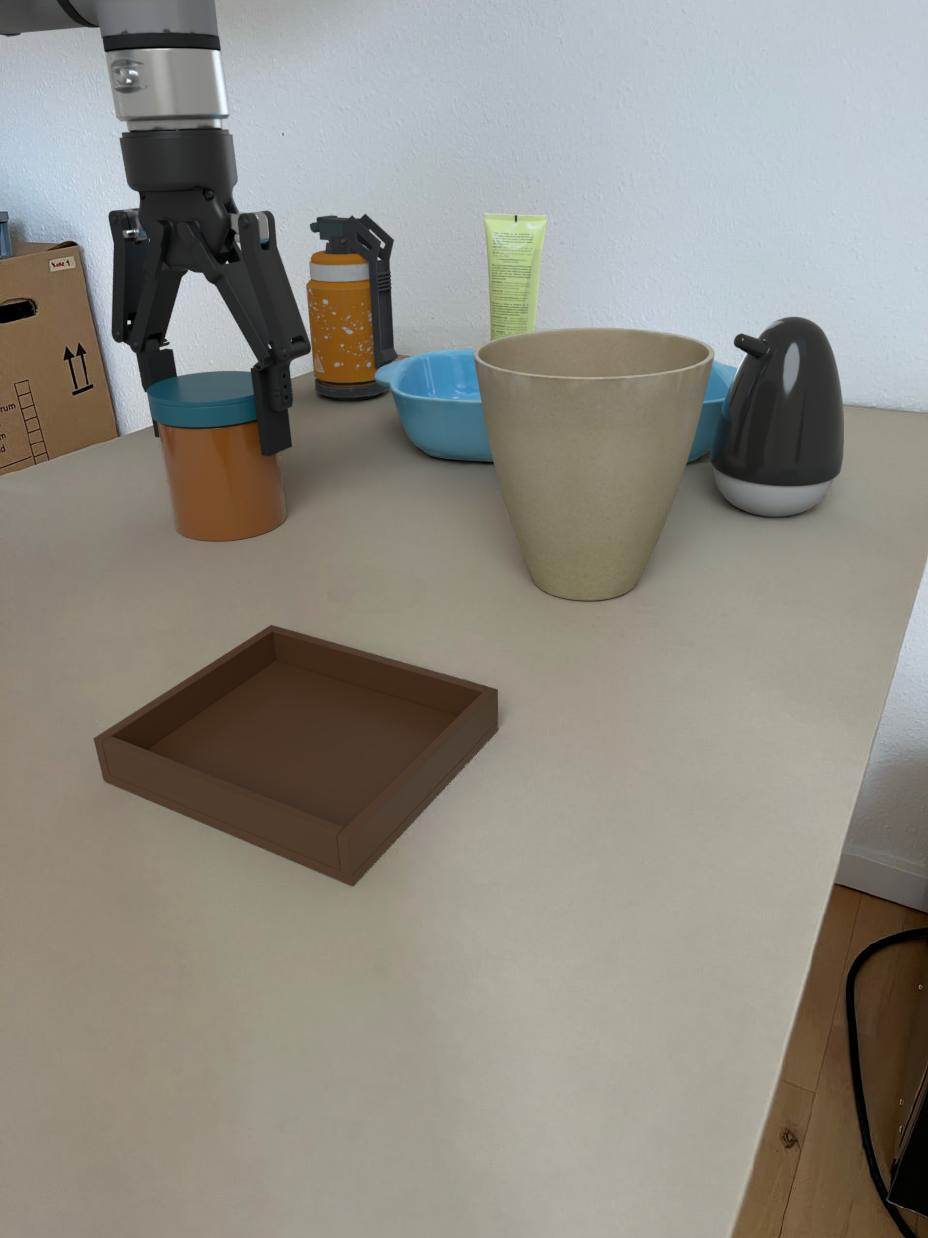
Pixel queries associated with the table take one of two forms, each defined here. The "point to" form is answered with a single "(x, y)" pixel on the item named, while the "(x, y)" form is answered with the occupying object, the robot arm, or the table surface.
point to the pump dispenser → (780, 421)
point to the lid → (203, 399)
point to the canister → (350, 307)
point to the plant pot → (590, 446)
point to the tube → (513, 271)
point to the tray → (303, 747)
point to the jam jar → (221, 481)
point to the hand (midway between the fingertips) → (222, 441)
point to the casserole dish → (452, 410)
